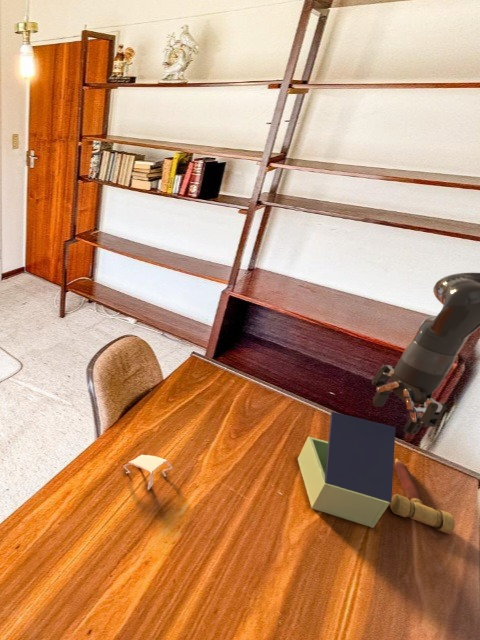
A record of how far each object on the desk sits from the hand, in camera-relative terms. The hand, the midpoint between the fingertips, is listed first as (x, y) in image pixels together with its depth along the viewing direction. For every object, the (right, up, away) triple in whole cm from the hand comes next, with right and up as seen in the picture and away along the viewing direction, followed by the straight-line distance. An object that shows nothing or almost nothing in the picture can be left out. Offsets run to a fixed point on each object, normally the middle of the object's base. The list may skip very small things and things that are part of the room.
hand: (391, 418), depth 92 cm
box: (-7, -22, +9) cm, 25 cm away
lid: (-7, -9, +1) cm, 11 cm away
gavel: (+13, -23, +9) cm, 28 cm away
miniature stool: (-54, -19, +11) cm, 58 cm away
